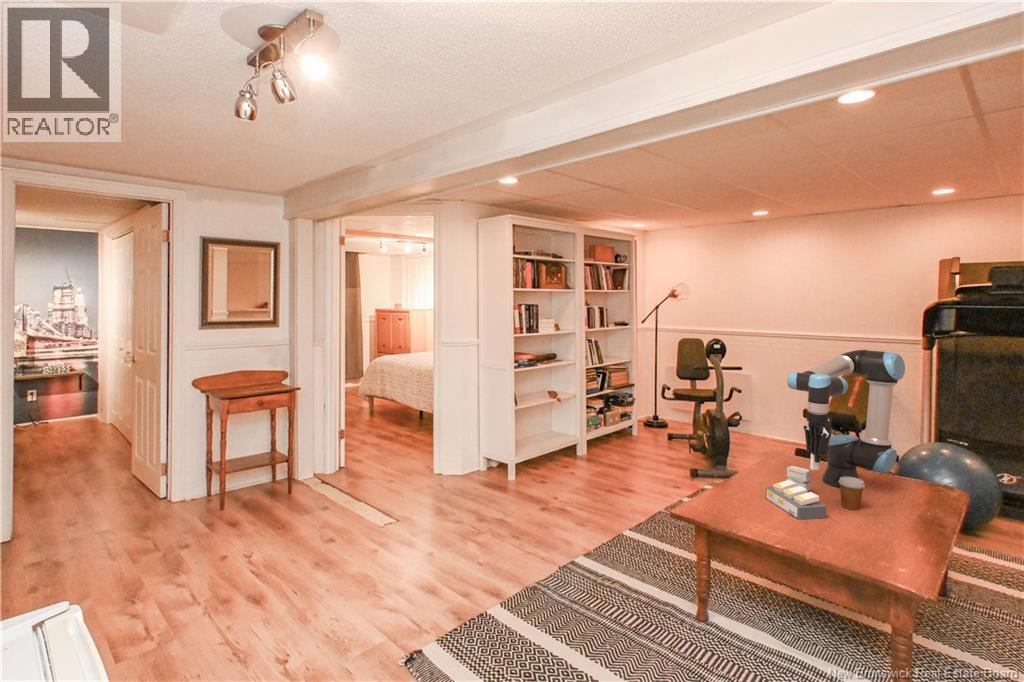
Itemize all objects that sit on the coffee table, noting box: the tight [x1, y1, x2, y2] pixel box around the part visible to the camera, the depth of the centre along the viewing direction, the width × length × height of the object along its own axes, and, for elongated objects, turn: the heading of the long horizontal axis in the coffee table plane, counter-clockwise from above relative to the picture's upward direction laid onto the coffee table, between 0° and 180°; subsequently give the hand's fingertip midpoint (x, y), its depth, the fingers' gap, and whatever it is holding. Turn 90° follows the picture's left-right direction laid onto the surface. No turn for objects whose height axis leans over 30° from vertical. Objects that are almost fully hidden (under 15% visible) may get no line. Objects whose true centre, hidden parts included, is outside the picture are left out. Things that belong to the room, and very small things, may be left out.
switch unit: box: [765, 486, 827, 521], centre depth 225 cm, size 13×22×6 cm, turn 8°
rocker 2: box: [783, 486, 808, 499], centre depth 225 cm, size 8×4×2 cm, turn 97°
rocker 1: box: [772, 479, 797, 493], centre depth 232 cm, size 8×4×2 cm, turn 97°
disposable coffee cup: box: [839, 477, 866, 511], centre depth 226 cm, size 10×10×12 cm
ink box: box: [786, 465, 812, 493], centre depth 241 cm, size 8×5×12 cm, turn 39°
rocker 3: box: [794, 491, 820, 506], centre depth 218 cm, size 8×4×2 cm, turn 97°
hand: (814, 469), depth 217 cm, fingers closed
